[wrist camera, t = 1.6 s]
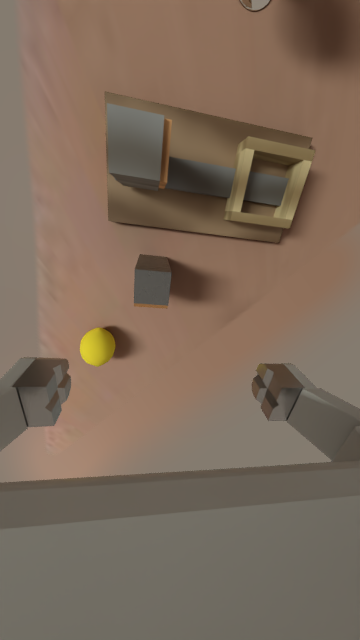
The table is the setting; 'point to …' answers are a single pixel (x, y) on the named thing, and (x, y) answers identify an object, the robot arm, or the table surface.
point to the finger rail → (201, 171)
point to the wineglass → (254, 4)
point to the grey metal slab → (152, 281)
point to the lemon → (97, 346)
